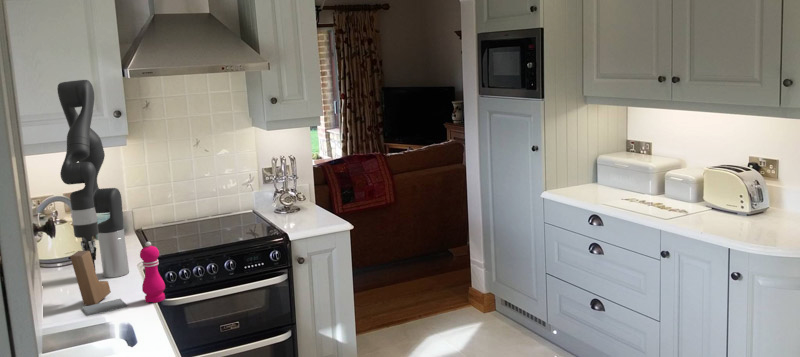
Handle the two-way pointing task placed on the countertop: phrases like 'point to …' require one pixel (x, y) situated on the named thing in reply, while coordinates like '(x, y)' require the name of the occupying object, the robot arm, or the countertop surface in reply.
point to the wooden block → (88, 279)
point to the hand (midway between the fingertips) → (91, 271)
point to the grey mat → (104, 306)
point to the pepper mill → (152, 275)
